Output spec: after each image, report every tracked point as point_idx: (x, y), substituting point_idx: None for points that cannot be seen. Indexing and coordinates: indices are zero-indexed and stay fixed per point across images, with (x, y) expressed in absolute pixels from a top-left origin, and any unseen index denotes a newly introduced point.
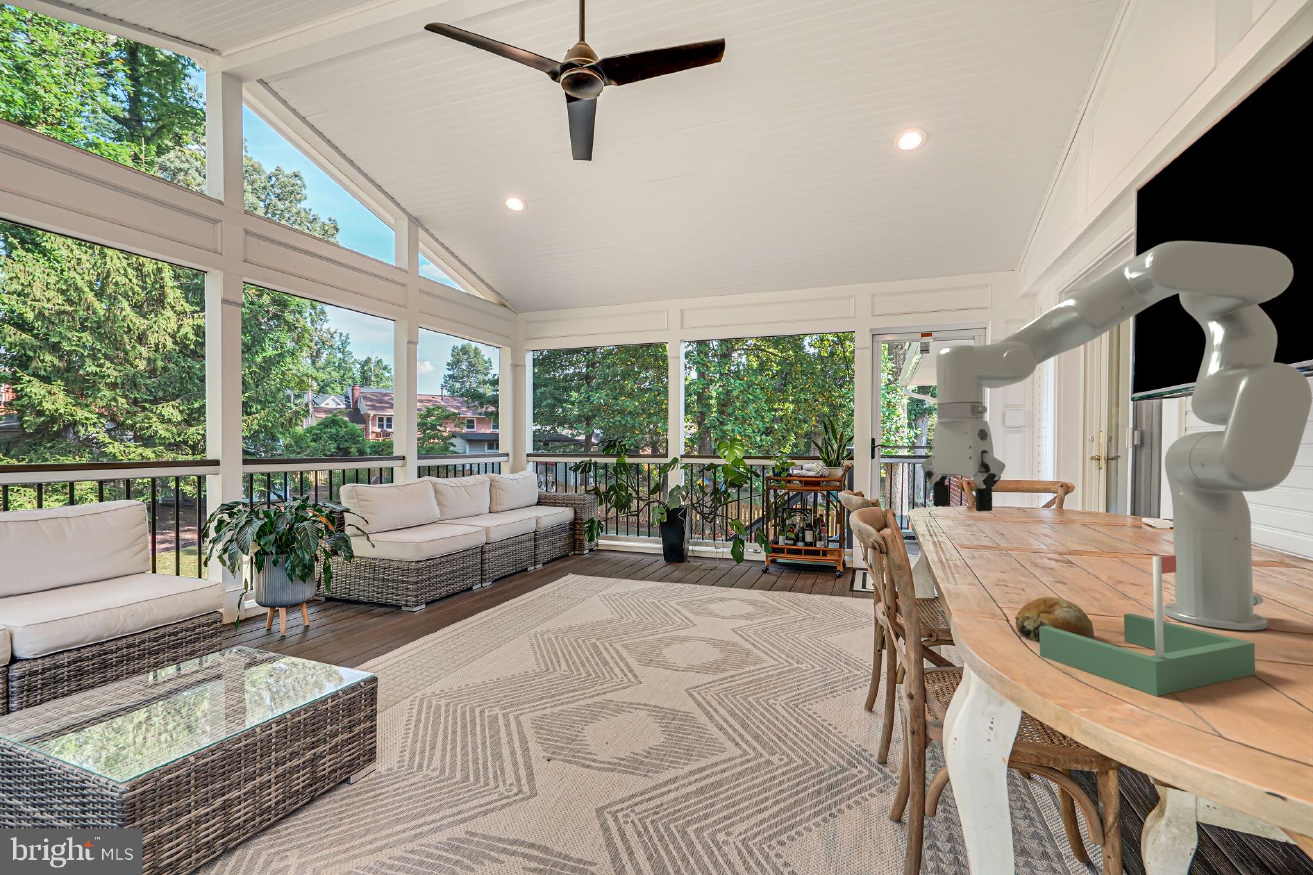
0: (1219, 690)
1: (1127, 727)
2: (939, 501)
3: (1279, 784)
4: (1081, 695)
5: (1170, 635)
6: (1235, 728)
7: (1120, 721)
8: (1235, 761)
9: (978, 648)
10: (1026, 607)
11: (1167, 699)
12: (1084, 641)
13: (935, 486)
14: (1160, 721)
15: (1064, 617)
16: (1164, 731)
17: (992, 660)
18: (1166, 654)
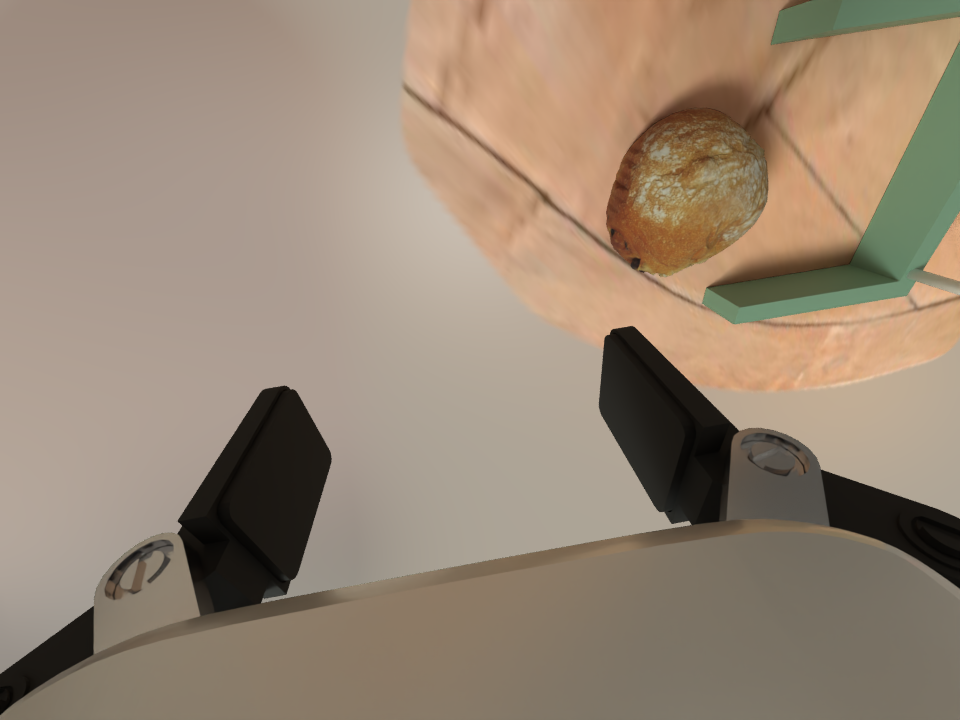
0: None
1: (840, 370)
2: (316, 463)
3: (946, 345)
4: (789, 354)
5: (913, 20)
6: None
7: (833, 366)
8: (921, 341)
9: None
10: (664, 261)
11: None
12: (807, 311)
13: (287, 582)
14: (864, 332)
15: (742, 235)
16: (869, 347)
17: None
18: (922, 249)
